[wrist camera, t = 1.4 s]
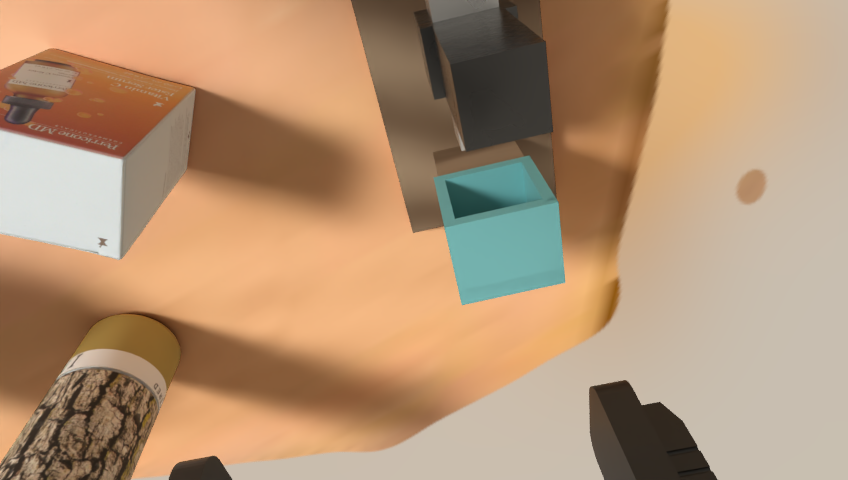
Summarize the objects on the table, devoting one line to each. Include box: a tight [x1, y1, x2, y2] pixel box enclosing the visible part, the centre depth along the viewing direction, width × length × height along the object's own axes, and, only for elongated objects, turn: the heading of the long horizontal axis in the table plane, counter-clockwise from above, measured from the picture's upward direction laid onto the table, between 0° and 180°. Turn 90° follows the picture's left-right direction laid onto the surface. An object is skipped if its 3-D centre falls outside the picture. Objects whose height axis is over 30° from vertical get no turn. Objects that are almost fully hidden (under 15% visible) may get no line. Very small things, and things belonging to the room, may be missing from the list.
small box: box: [0, 49, 196, 260], centre depth 27 cm, size 8×6×10 cm
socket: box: [433, 155, 565, 305], centre depth 29 cm, size 5×6×6 cm
